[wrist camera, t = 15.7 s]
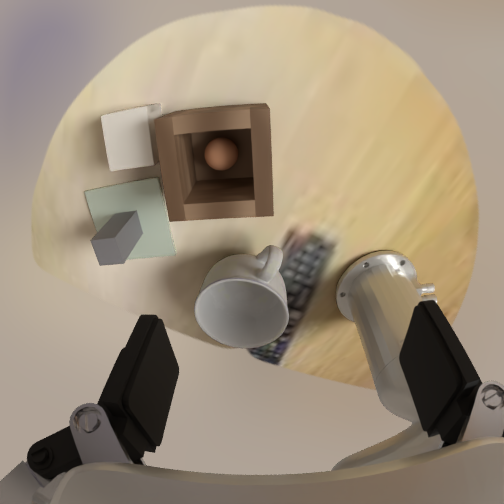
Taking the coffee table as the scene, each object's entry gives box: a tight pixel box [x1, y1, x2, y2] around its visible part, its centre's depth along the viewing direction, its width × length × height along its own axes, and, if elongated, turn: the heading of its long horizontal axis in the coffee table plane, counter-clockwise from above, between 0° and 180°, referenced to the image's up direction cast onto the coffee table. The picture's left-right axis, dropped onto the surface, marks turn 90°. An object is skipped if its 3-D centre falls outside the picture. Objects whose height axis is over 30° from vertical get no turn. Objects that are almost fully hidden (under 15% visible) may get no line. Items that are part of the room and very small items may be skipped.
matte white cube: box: [101, 103, 162, 171], centre depth 29 cm, size 5×6×5 cm
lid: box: [85, 177, 177, 266], centre depth 34 cm, size 10×10×8 cm
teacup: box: [194, 245, 289, 348], centre depth 37 cm, size 14×11×8 cm
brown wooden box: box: [154, 103, 274, 222], centre depth 29 cm, size 10×10×8 cm
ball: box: [205, 138, 238, 170], centre depth 30 cm, size 3×3×3 cm
